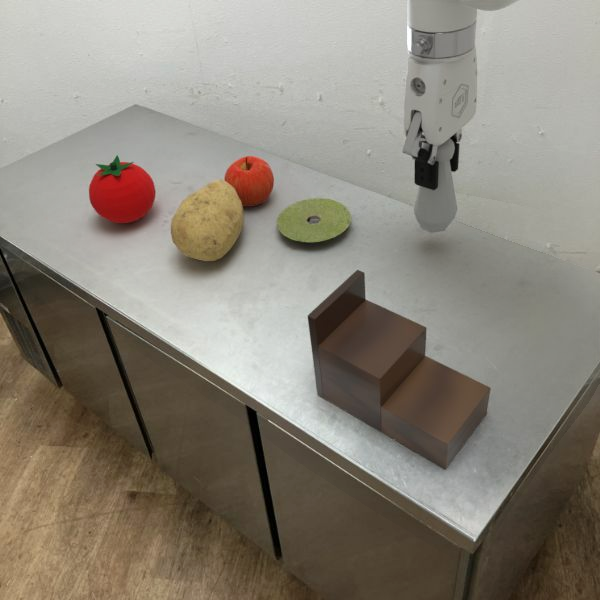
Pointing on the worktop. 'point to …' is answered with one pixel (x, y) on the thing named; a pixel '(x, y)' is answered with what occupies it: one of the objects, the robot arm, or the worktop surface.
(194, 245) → the potato
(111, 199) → the tomato
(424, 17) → the robot arm
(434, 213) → the salt shaker
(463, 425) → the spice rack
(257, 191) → the apple
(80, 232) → the worktop surface
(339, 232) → the mat
